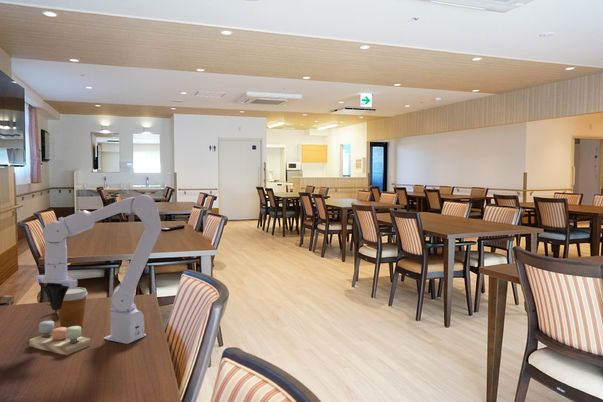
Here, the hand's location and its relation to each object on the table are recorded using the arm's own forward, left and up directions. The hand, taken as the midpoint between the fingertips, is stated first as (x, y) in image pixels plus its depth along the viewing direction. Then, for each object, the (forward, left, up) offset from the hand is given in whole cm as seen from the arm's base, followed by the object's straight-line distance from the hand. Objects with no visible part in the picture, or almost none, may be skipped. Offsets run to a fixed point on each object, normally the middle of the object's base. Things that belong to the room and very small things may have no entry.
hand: (56, 309), depth 132 cm
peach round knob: (-3, +1, -10) cm, 10 cm away
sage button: (-8, +1, -9) cm, 12 cm away
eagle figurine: (+23, -21, -11) cm, 33 cm away
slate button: (+3, +1, -8) cm, 9 cm away
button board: (-3, +1, -10) cm, 11 cm away
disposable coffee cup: (+8, -12, -10) cm, 18 cm away
